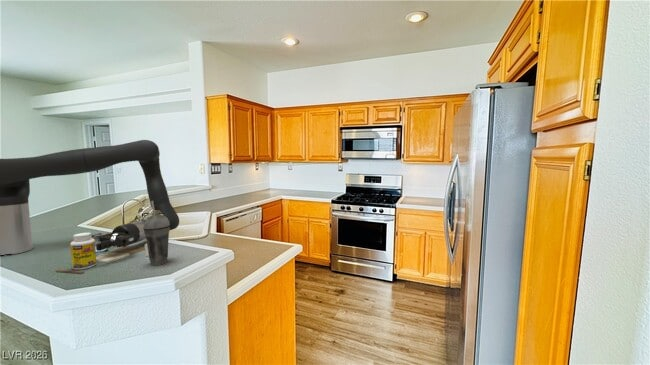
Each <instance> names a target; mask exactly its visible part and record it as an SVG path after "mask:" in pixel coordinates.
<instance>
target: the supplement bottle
mask: <svg viewBox="0 0 650 365" xmlns="http://www.w3.org/2000/svg"><path fill="white" fill-rule="evenodd" d="M69 245H70V258H71V260H70V261H71V267H72V268H71V269H72V270H76V271H83V270H86V269H91V268H93V267H94V266H96V265H97V262H96V256H97V253H96V252H97V250H96V246H95V240H94V239H92V233H91V232H81V233H76V234H73V241H71V242H70V244H69Z"/></svg>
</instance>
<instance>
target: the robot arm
mask: <svg viewBox="0 0 650 365" xmlns="http://www.w3.org/2000/svg"><path fill="white" fill-rule="evenodd" d="M160 154H161V153H160V149H159V146H158V144H156V143H155V142H154V141H152V140H148V139H141V140H137V141H136V140H135V141H130V142H126V143H122V144H115V145H105V146H104V145H103V146H96V147H87V148H86V147H85V148H77V149H70V150H69V149H68V150H64V151H58V152H53V153H48V154H43V155H38V156H29V157H17V158H16V157H15V158H0V255H3V254H12V255H17V254H21V253H25V252H26V253H27V252H28V251H29V252H30V251H31V250H32V249H33V248H34V247H33V238H32V237H33V236H32V227H31V226H32V225H31V224H32V223H31V215H30V205H29V197H30V195H31V194H30V193H31V188H30V187H31V186H30V185H31V184H30V180H33V179H37V178H44V177H55V176H57V177H58V176H59V177H60V176H71V175H79V174H86V173H92V172H97V171H101V170H104V169H107V168H109V167H113V166H115V165H117V164H121V163H122V164H123V163H129V162H138V163H139V165H140V167H141V169H142V172H143V175H144V178H145V183H146V184H145V185H146V191H147V195H148V200H149V203H150V207H151V208H152V203H151V201H153V203H154V209H155V212H157V211H159V212H161V215H164V216H165V217H167V218H168V220H169V222H170V231H172V230H175V229H178V227H179V225H180V218H179V215H178V214H177V212H176V210H175V209H174V206H173V205H172V204H171V201H170V196H169V194H168V193H169V192H168V190H167V186H166V184H165V182H164V179H163V175H162V171H161V165H160ZM146 220H147V219H143V220H139V221H133V222H132V221H131V222H129V223H125V224H121V225H118V226H116V227H114V229H113V230H112V231H111V232H106V233H104V234H103V233H101V232H100V233H97V234H91V236H92V239H94V240H95V248H96V252H97V251H98V252H99V251H100V252H101V251H104V250H106V249H110V248H112V249H113V248H121V247H124V246H131V245H132V244H136V243H139V242H142V241H143V240H146V235H145V233H144V229H143V228H144V223H145V221H146Z"/></svg>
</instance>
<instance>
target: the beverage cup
mask: <svg viewBox="0 0 650 365" xmlns="http://www.w3.org/2000/svg"><path fill="white" fill-rule="evenodd" d="M151 203H152V207H151V209H152V215H150V216H149V217H147V218H146V219H145V220H146V221H145V223H144V228H143V229H144V233H145V235H146V239H145V241H146V244H147V247H148V253H149V256H148V258H149V262H150V266H154V267H155V266H161V265H165V264H166V263H168V258H169V257H168V255H169V237H170V236H169V235H170V231H171V230H170V222H169V220H168V218H167V217H165V216H164V215H163V214H162V213H161V214H160V213H156V211H155V209H154V203H153V201H151Z"/></svg>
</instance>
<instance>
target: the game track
mask: <svg viewBox="0 0 650 365" xmlns="http://www.w3.org/2000/svg"><path fill="white" fill-rule="evenodd" d="M141 251H145V246H137V245H136V246H135V245H134V246H133V245H127V246H124V247H117V248H115V249H113V250H110V251H106V252H104V253H100V254H96V263H107V264H111V263H113V262H115V261H119V260H121V259H123V258H127V257H129V256H130V255H133V254H136V253H139V252H141ZM55 273H64V274H65V273H67V274H78V275H82V274H85V271H84V270H74V269H61V268H58V269H56V270H55Z"/></svg>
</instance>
